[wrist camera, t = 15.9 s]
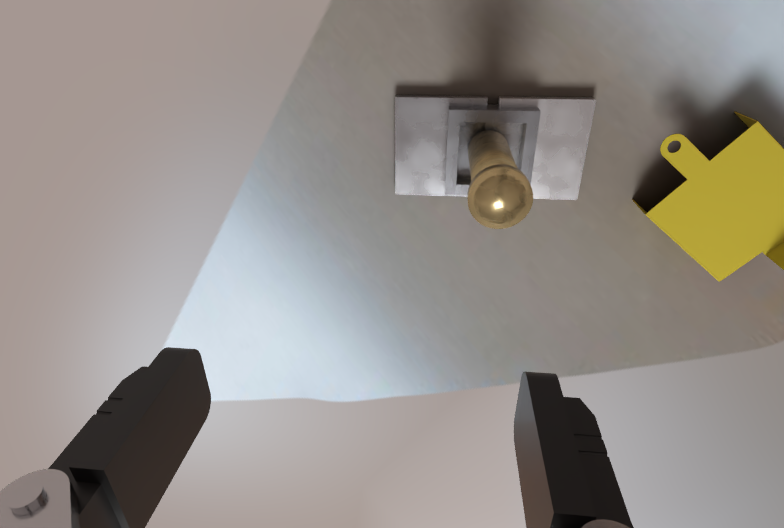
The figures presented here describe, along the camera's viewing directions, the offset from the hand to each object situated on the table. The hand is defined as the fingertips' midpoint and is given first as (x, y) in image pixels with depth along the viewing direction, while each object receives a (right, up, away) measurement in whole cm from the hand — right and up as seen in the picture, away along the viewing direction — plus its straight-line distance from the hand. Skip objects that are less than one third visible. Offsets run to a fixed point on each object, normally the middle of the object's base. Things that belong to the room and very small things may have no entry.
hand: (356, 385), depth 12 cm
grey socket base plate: (+10, +14, +33) cm, 37 cm away
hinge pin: (+10, +13, +32) cm, 36 cm away
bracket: (+29, +11, +33) cm, 45 cm away
